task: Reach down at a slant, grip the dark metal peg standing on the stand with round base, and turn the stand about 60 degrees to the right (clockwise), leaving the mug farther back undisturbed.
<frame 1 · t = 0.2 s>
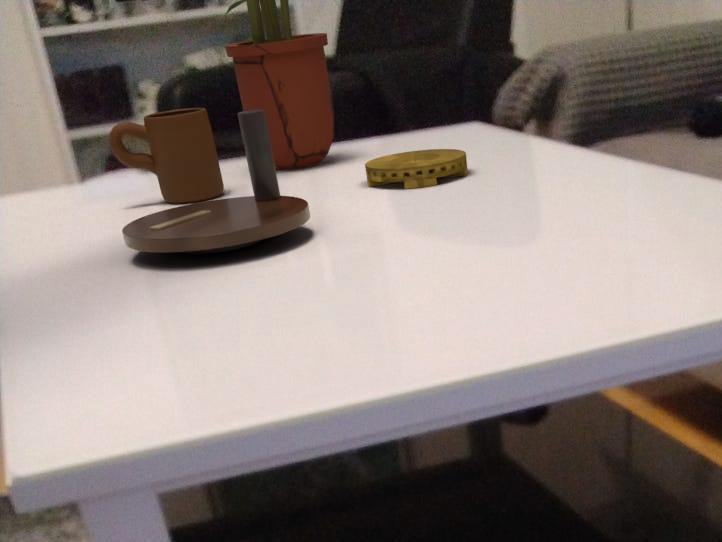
hand: (139, 0, 94), 21 cm above the table, tool pointing down, fingers open, 8 cm apart
mug: (177, 202, 125), on the table
stand with round base: (209, 185, 98), point 6 cm above the table, hinge at 0.0°
yellow flat disc: (418, 180, 122), on the table
potted plant: (304, 168, 137), on the table
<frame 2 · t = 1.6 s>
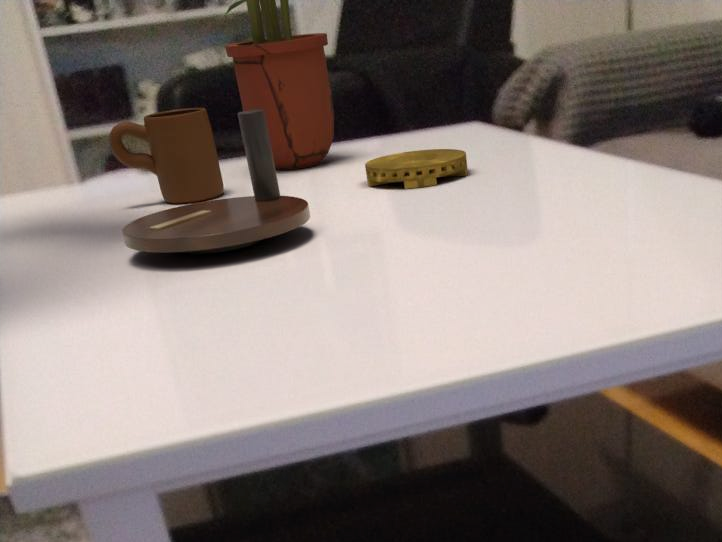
nothing on the table moved.
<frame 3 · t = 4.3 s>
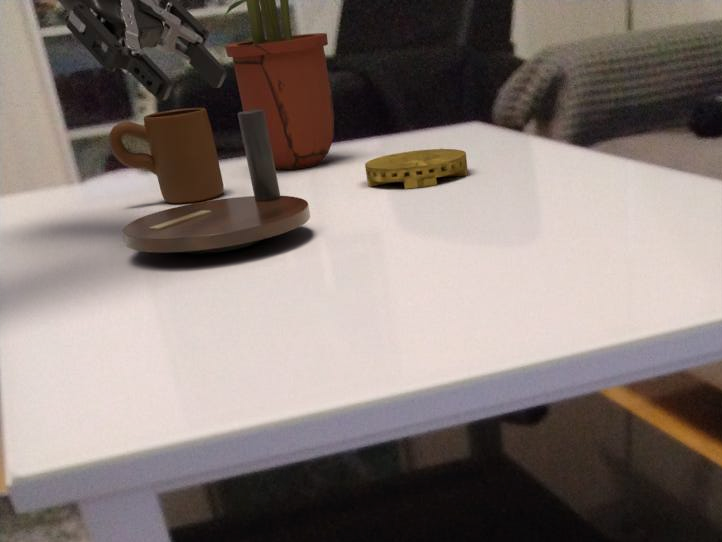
hand: (195, 87, 101), 13 cm above the table, tool tilted 45°, fingers open, 8 cm apart
nothing on the table moved.
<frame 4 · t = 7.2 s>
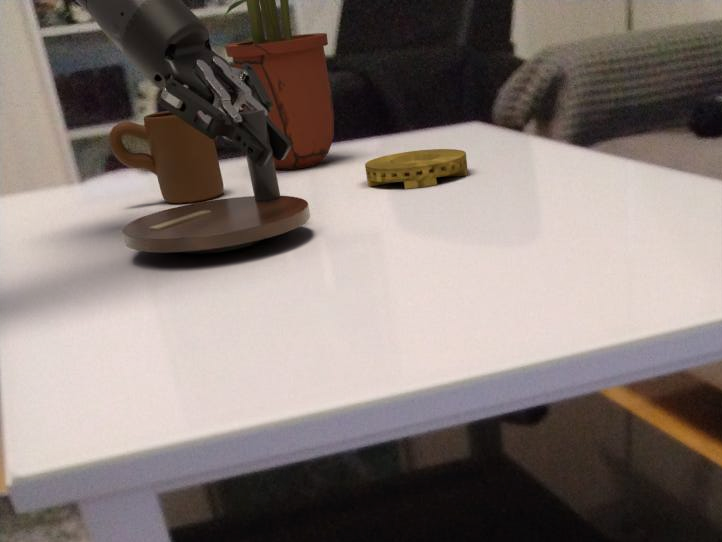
hand: (276, 155, 101), 7 cm above the table, tool tilted 45°, fingers closed on stand with round base, 2 cm apart
stand with round base: (209, 185, 98), point 6 cm above the table, hinge at 0.0°, touching gripper
everything else where it was.
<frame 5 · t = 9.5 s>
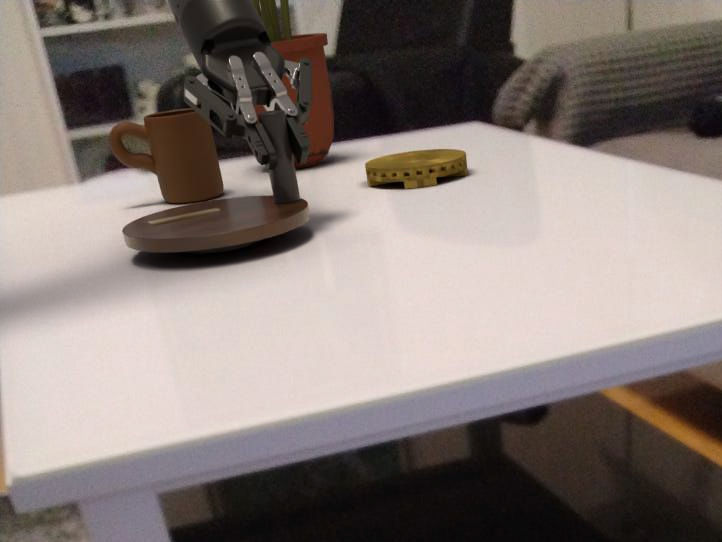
hand: (288, 160, 98), 7 cm above the table, tool tilted 45°, fingers closed on stand with round base, 2 cm apart
stand with round base: (209, 185, 98), point 6 cm above the table, hinge at -27.1°, touching gripper
everything else where it was.
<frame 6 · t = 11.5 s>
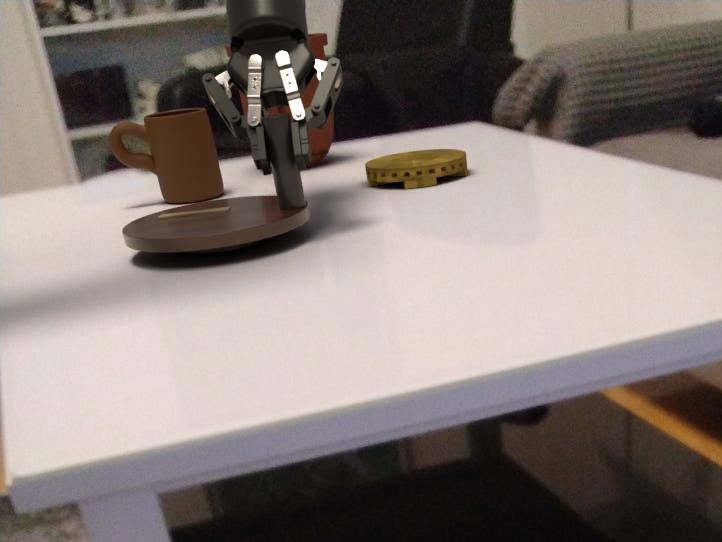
hand: (283, 166, 95), 7 cm above the table, tool tilted 45°, fingers closed on stand with round base, 2 cm apart
stand with round base: (209, 185, 98), point 6 cm above the table, hinge at -53.8°, touching gripper
everything else where it was.
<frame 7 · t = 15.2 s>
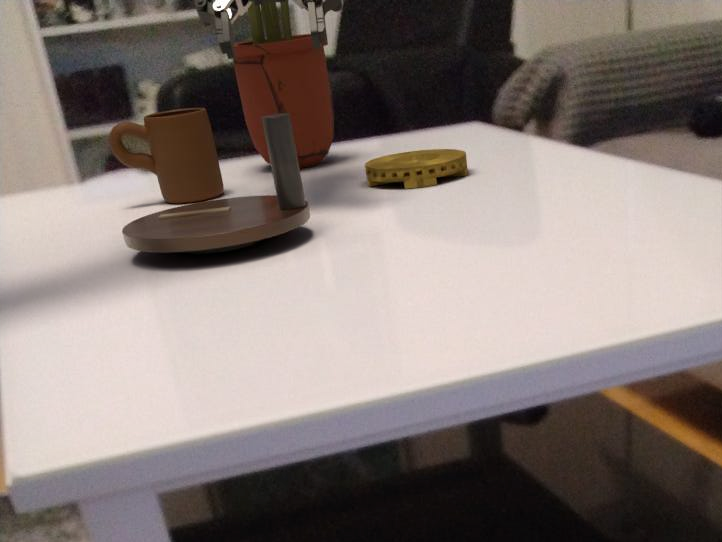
hand: (273, 48, 100), 16 cm above the table, tool tilted 45°, fingers open, 8 cm apart
stand with round base: (209, 185, 98), point 6 cm above the table, hinge at -54.4°
everything else where it was.
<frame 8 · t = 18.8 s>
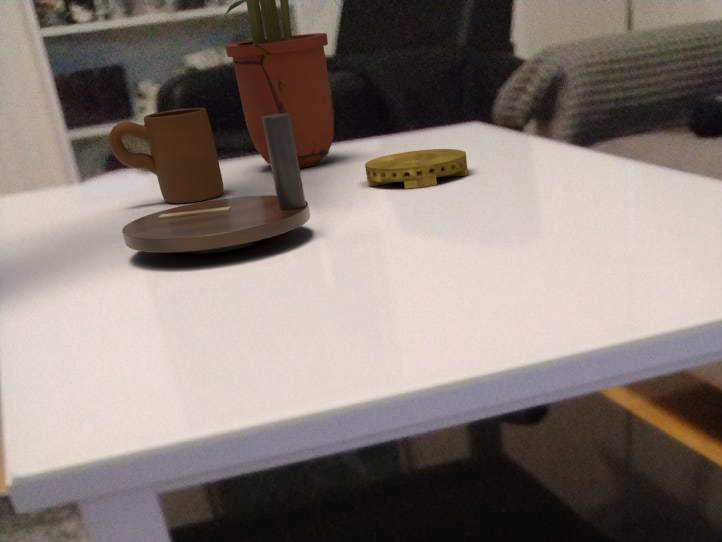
nothing on the table moved.
at the end: stand with round base at -54° (first picture: +0°); mug moved 0.2 cm from its start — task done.
